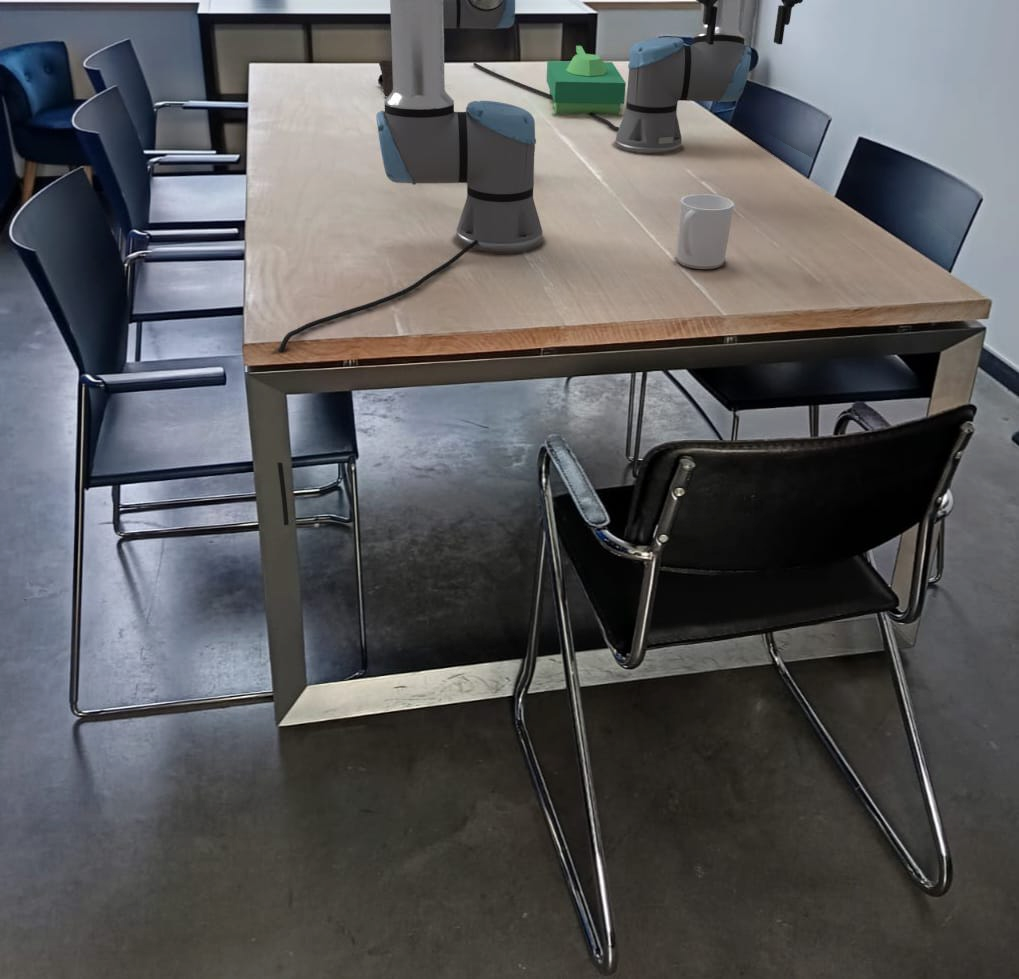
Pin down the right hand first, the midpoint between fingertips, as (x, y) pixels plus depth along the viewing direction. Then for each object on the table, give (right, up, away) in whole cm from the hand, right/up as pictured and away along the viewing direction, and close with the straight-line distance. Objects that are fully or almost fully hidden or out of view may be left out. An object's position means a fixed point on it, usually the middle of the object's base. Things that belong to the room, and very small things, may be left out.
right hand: (743, 43), depth 209 cm
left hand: (-64, -18, +20) cm, 69 cm away
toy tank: (-25, +18, +84) cm, 89 cm away
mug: (-13, -47, -22) cm, 53 cm away
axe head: (-74, +24, +91) cm, 120 cm away
